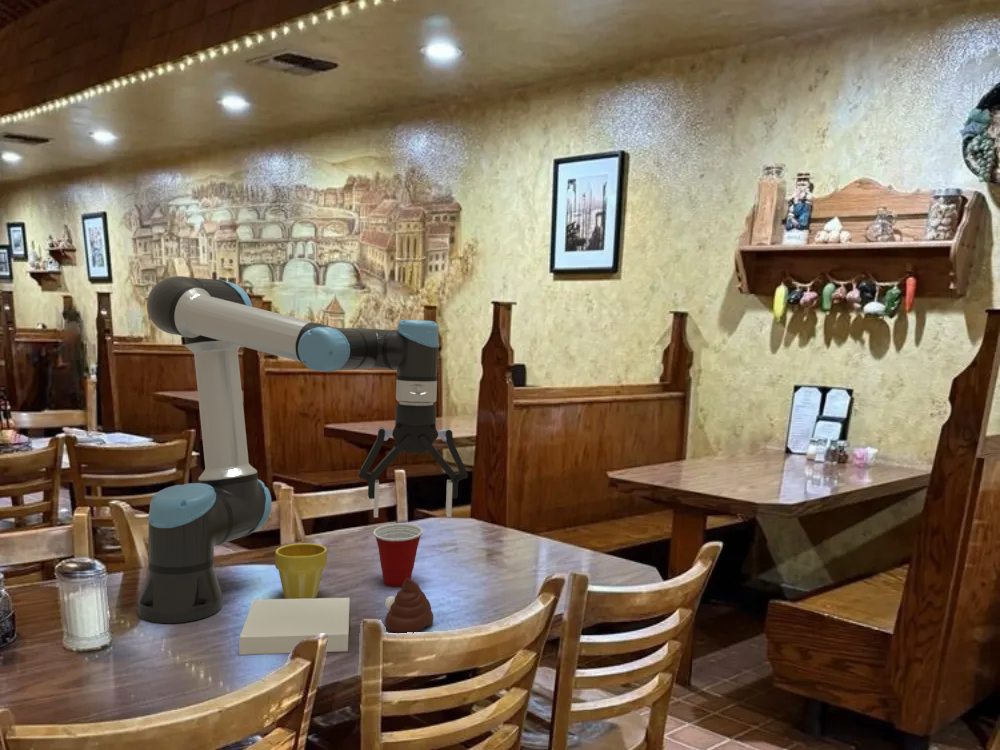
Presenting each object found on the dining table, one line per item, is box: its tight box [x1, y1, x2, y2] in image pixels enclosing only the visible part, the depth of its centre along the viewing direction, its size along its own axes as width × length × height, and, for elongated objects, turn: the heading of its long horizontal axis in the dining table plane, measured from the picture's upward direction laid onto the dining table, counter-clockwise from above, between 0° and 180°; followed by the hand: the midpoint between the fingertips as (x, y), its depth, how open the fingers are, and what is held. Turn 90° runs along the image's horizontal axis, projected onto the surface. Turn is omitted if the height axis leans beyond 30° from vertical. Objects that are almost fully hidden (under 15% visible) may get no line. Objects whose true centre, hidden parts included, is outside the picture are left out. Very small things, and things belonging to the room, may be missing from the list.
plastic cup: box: [372, 522, 424, 588], centre depth 169 cm, size 11×11×12 cm
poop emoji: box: [384, 578, 434, 634], centre depth 146 cm, size 10×8×9 cm
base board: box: [238, 597, 351, 656], centre depth 140 cm, size 18×18×3 cm
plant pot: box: [274, 542, 328, 599], centre depth 158 cm, size 10×10×10 cm
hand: (412, 515), depth 145 cm, fingers open, 13 cm apart
